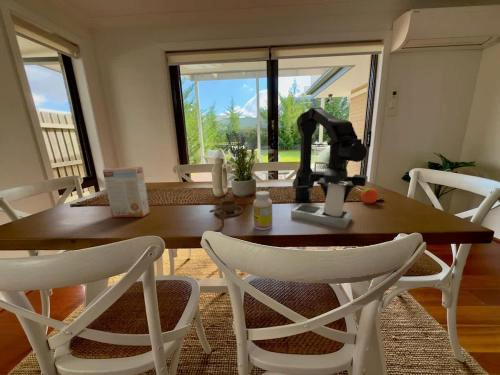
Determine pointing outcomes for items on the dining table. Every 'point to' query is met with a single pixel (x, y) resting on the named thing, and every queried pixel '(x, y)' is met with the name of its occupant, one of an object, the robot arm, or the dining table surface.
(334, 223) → the grey compartment tray
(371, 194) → the clementine
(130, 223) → the dining table surface
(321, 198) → the dining table surface
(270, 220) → the supplement bottle
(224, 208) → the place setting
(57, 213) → the dining table surface
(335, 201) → the can
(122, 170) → the cracker box
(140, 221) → the dining table surface
